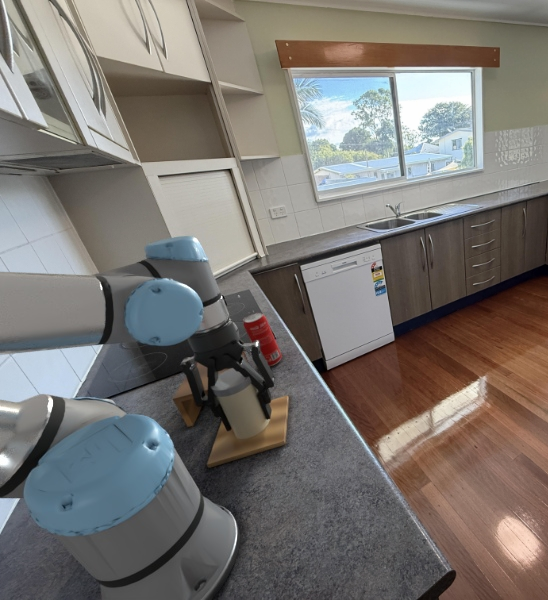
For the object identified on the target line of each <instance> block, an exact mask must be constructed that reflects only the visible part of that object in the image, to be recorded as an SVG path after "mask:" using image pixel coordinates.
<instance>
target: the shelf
mask: <svg viewBox="0 0 548 600" xmlns="http://www.w3.org/2000/svg"><path fill="white" fill-rule="evenodd" d="M242 356H243V357H244V358H245V359H246V361H247V363H248V364H249V365H250V363H249V361H248V357H247V355H246V353H245V350H243V352H242ZM197 364H198V365H197V367H198V370H199V373H200V377H201V380H202V383H203V386H204V389H205V393H206V396H208V377H207V367H205V366H203V365H201V364H199V363H198V362H197ZM230 369H232V368H230ZM227 370H229V369H224V370H222V371H218V375H219V374H221V373H223V372H225V371H227ZM172 401H173V403H174V404H175V406H176V409H177V410H178V412H179V413H180V415H181V417H182V419H183V422H185V425H186V426H187V428H189V427H193V426H194V425H195V423H196V421H197V418H198V417H199V414H200V412H201V409H202V408H203V406H202V407H197V406H196V404H195V401H194V398H193V395H192V392H191V389H190V386H189V383H188V380H187V377H186V376H185V377H184V379H183V381H182V382H181V384H180V386H179V388H178V389H177V390H176V392H175V394H174V396H173V397H172Z"/></svg>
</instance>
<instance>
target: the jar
mask: <svg viewBox="0 0 548 600" xmlns="http://www.w3.org/2000/svg"><path fill="white" fill-rule="evenodd" d="M251 383H252V382H251V380H250V377H244V376H243V375H242V374H241V373H240V372H237V371H235V370H234V369H233V368H232V369H229V370H227V371H225V372H223V373H221V374H219V375H218V380H217V382H216V384H215V385H214V386H211V389H212V391H213V393H214V395H216V397H217V399H218V401H219V403H220V405H221V407H222V409H223V411H224V413H225V416H226V418H227V420H228V422H229V424H230V426H231V428H232V430H233V432H234V435H235V436H236V437H237V438H239V439H247V438H251V437H253V436H256V435H257V434H259V433H260V432H262V431H263V430H264V429H265V428H266V427H267V425H268V423H269V420H270V419H268V420H267V419H266V417H265V414H264V412H263V410H262V407H261V405H260V402H259V400H258V397H257V392H258V390H257V389H256V388H255V387H254V386H253V385H252V384H251Z"/></svg>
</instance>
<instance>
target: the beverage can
mask: <svg viewBox="0 0 548 600" xmlns="http://www.w3.org/2000/svg"><path fill="white" fill-rule="evenodd" d="M242 320H243V327H244V329H245V331H246V334H247V336H248V338H249V340H250V343H253V342H254V341H255V340H258V341H259V342H260V350H261V352H262V354H263V356H264V358H265V360H266V361H267V363H268V365H269V367H272V366H273V367H274V366H275V365H277V364H278V363H280V361H281V360H282V357H283V355H282V352H281V351H280V348H279V346H278V344H277V341H276V339H275V335H274V334H273V331H272V329H271V327H270V324H269V322H268V320H267V317H266V316H265V315H264V314H263V312H260V311H259V312H252V313H251V314H248V315H247V316H245V317H243V319H242Z"/></svg>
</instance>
